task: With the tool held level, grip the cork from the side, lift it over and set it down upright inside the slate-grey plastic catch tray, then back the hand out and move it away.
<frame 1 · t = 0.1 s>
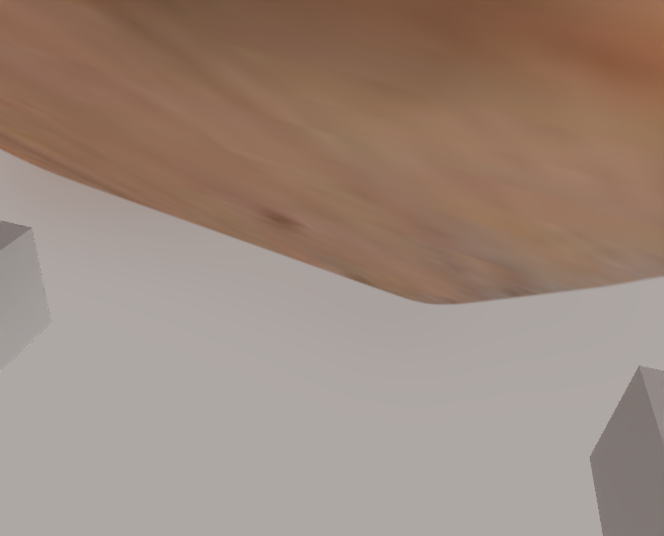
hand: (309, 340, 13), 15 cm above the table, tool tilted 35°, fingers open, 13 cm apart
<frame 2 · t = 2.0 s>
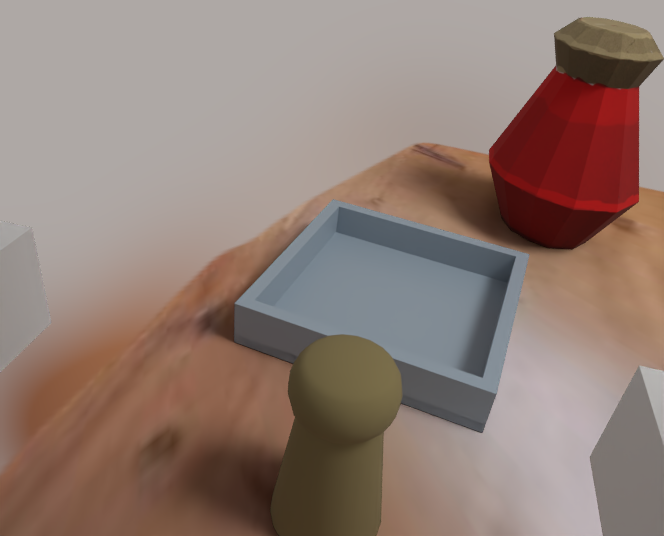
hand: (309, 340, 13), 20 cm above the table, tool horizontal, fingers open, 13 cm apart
bottle: (541, 227, 62), on the table
catch tray: (390, 312, 47), on the table
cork: (325, 510, 32), on the table
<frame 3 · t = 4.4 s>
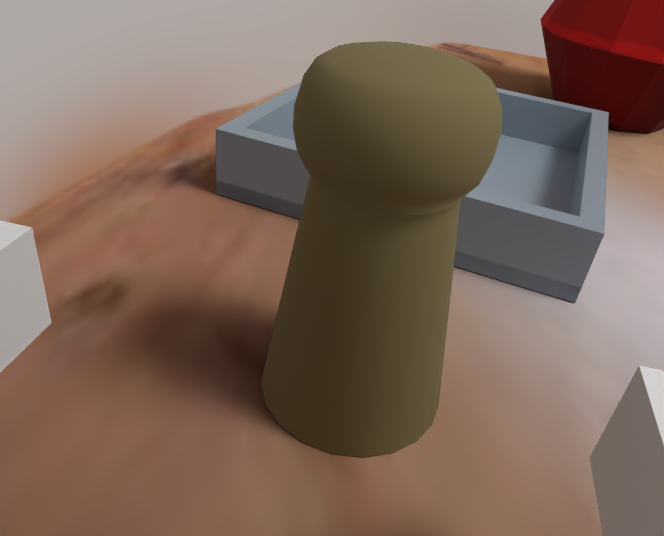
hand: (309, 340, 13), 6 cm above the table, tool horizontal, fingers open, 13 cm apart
bottle: (604, 114, 50), on the table
catch tray: (428, 176, 35), on the table
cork: (349, 388, 20), on the table
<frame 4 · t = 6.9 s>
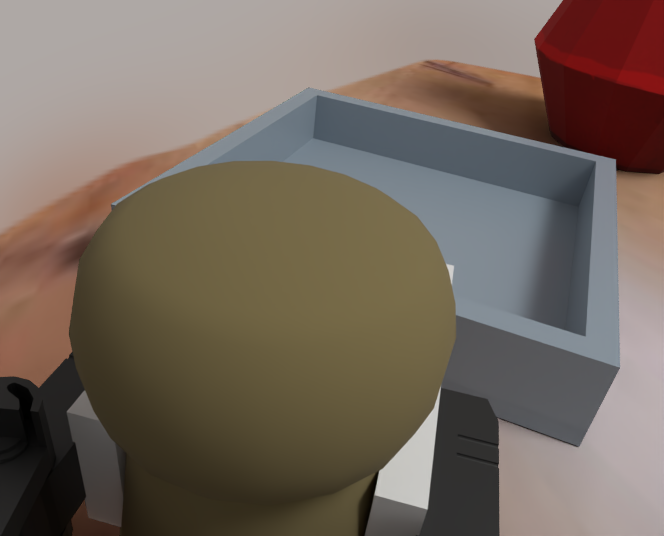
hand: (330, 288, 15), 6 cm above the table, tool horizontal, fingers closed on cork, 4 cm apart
bottle: (607, 148, 44), on the table
catch tray: (396, 243, 29), on the table
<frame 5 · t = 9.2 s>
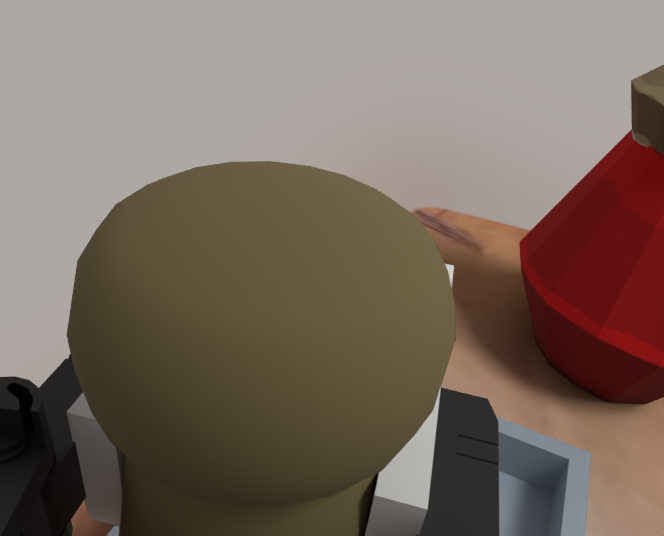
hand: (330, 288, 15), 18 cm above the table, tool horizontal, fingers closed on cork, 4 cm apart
bottle: (594, 357, 42), on the table
when the fingers open (8 cm above the table, at t = 12.0 s): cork drops 2 cm, resting on catch tray.
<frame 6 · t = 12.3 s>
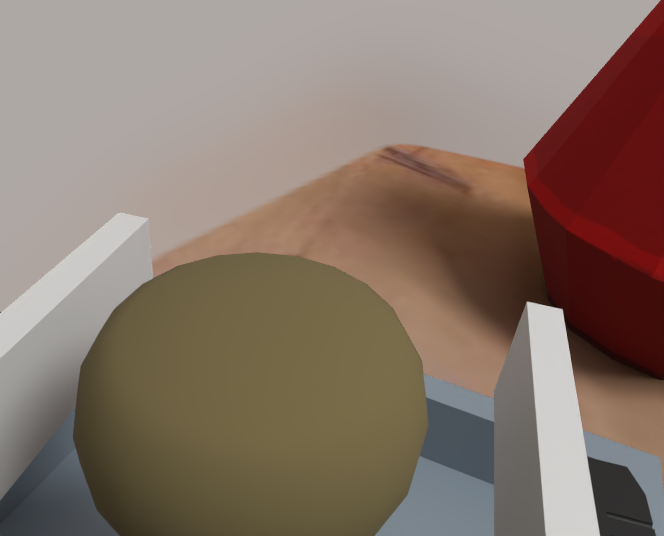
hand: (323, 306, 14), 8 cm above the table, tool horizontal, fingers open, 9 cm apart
bottle: (630, 319, 30), on the table
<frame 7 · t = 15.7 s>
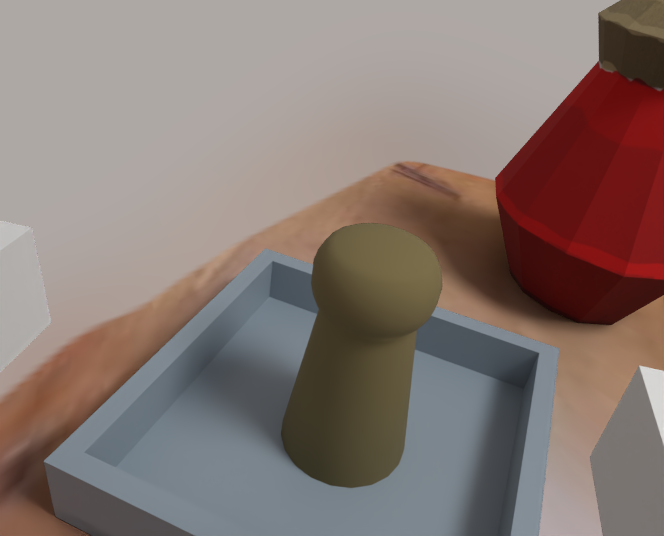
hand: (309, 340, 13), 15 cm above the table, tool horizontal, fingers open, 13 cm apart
bottle: (564, 287, 45), on the table
catch tray: (338, 444, 29), on the table
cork: (342, 436, 29), point 1 cm above the table, touching catch tray
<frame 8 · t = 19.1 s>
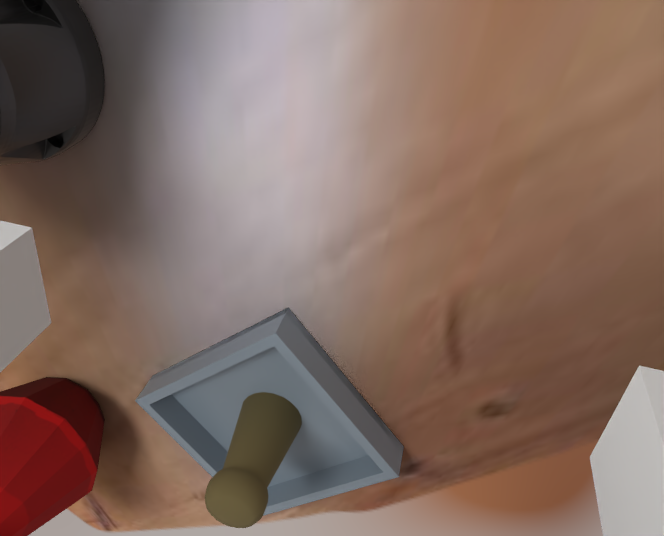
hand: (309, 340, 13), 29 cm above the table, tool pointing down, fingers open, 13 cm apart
bottle: (71, 407, 65), on the table
catch tray: (275, 410, 57), on the table
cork: (272, 414, 56), point 1 cm above the table, touching catch tray
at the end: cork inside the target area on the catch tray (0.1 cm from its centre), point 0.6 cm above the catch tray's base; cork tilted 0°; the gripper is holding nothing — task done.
